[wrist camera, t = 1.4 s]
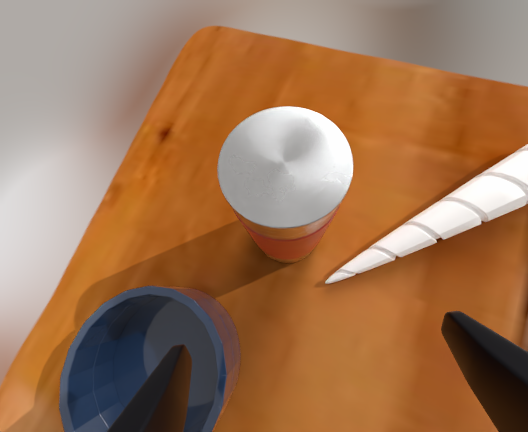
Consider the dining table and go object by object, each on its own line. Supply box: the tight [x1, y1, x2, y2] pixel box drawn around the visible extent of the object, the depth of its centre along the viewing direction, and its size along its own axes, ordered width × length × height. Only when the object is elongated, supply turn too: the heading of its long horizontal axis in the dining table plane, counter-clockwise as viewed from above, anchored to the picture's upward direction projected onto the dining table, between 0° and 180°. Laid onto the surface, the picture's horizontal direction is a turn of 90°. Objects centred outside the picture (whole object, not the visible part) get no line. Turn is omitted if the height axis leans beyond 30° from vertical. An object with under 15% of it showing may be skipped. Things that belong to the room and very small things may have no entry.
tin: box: [217, 106, 353, 263], centre depth 17 cm, size 6×6×13 cm
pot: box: [59, 286, 241, 432], centre depth 19 cm, size 11×11×5 cm
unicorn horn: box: [325, 144, 528, 284], centre depth 20 cm, size 5×24×5 cm, turn 113°
